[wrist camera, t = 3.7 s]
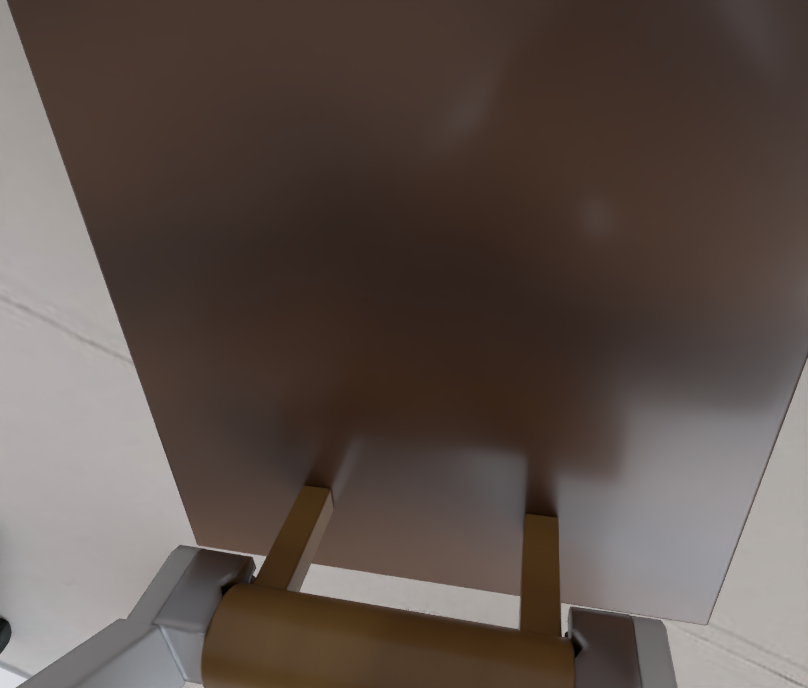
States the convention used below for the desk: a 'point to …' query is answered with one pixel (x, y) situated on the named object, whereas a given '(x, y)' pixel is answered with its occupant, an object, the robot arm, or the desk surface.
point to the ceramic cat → (4, 634)
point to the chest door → (446, 300)
